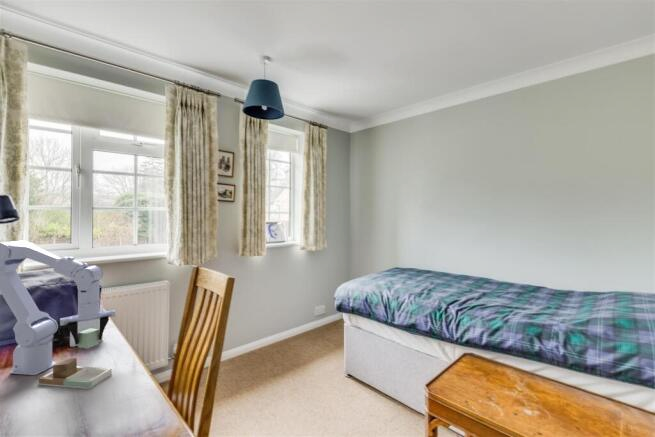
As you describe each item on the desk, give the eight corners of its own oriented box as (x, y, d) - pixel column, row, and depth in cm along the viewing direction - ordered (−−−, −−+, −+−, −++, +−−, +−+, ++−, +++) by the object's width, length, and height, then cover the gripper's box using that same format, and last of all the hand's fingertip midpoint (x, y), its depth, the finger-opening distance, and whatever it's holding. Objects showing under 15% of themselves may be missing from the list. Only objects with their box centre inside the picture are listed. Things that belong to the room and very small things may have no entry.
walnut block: (53, 381, 90) (53, 365, 90) (62, 374, 94) (62, 358, 94) (67, 380, 91) (67, 364, 91) (76, 373, 95) (76, 358, 94)
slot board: (38, 384, 89) (38, 378, 89) (65, 370, 97) (65, 365, 97) (88, 388, 87) (88, 382, 87) (111, 374, 95) (111, 368, 95)
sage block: (78, 347, 99) (78, 332, 99) (90, 342, 103) (90, 328, 103) (87, 348, 98) (87, 333, 98) (99, 343, 102) (99, 329, 102)
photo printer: (102, 338, 123) (102, 308, 123) (103, 341, 120) (103, 311, 120) (70, 344, 116) (70, 313, 116) (69, 348, 113) (69, 316, 113)
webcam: (61, 348, 113) (61, 322, 113) (42, 348, 113) (42, 322, 113) (78, 339, 121) (78, 315, 121) (61, 339, 121) (61, 315, 121)
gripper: (114, 295, 108) (114, 332, 108) (61, 302, 99) (61, 342, 99) (115, 300, 102) (115, 338, 102) (59, 308, 93) (59, 350, 93)
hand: (88, 341), depth 100 cm, fingers closed on sage block, 6 cm apart
